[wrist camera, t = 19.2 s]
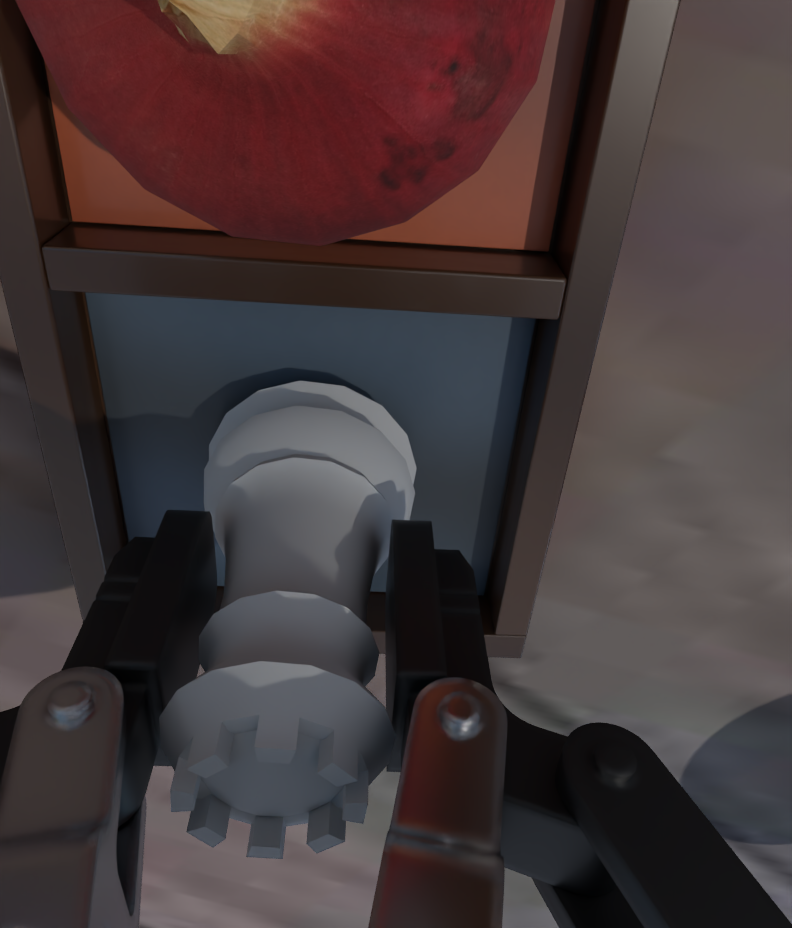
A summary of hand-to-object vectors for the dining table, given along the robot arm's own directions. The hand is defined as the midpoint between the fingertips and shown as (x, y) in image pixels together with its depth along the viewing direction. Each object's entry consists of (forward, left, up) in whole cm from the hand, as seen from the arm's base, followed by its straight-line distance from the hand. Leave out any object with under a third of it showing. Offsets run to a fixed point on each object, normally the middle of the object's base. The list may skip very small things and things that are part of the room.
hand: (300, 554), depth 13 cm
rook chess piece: (0, 0, -3) cm, 3 cm away
